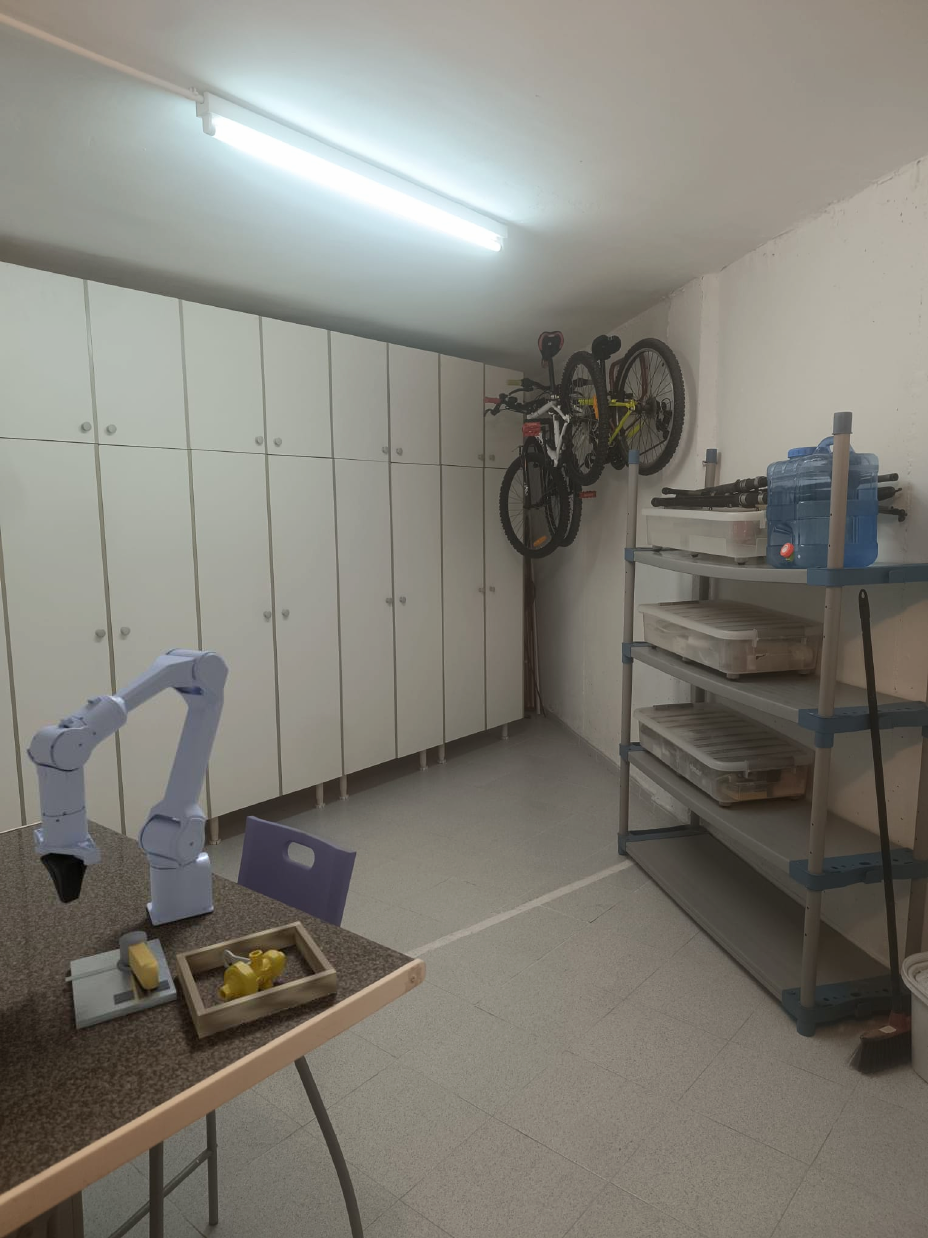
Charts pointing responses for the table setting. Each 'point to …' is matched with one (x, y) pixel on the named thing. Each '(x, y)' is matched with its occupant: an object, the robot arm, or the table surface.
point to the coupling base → (115, 987)
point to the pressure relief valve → (250, 973)
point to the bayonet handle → (139, 958)
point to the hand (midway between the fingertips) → (69, 900)
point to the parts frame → (262, 1001)
